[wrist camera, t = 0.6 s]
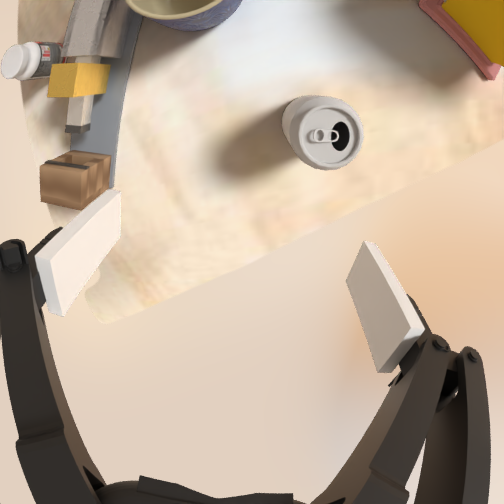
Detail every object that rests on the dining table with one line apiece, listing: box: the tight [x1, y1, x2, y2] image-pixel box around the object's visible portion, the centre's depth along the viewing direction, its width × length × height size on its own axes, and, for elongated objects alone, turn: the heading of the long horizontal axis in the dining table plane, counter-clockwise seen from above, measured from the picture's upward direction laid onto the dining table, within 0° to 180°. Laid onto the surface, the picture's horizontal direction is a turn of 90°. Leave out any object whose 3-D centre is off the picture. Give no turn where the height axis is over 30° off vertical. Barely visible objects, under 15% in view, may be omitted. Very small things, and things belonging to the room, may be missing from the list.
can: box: [282, 95, 364, 170], centre depth 30 cm, size 8×8×12 cm
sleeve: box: [61, 0, 134, 58], centre depth 24 cm, size 8×5×8 cm
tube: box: [47, 56, 111, 134], centre depth 24 cm, size 22×4×8 cm, turn 166°
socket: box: [40, 150, 112, 210], centre depth 34 cm, size 5×7×9 cm
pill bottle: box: [1, 42, 67, 81], centre depth 24 cm, size 6×6×10 cm
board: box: [70, 11, 143, 188], centre depth 32 cm, size 27×8×1 cm, turn 166°
